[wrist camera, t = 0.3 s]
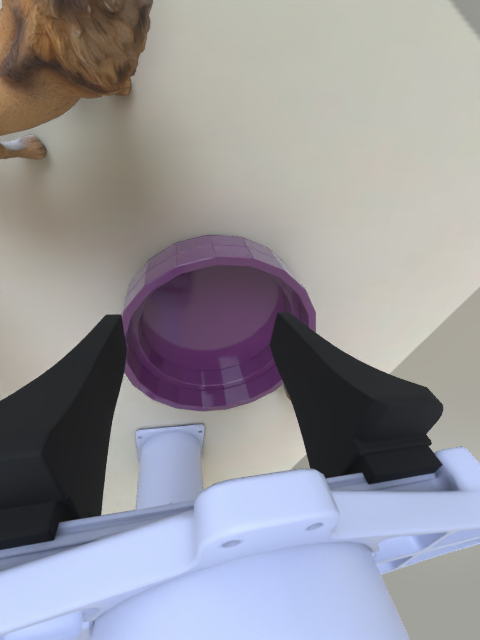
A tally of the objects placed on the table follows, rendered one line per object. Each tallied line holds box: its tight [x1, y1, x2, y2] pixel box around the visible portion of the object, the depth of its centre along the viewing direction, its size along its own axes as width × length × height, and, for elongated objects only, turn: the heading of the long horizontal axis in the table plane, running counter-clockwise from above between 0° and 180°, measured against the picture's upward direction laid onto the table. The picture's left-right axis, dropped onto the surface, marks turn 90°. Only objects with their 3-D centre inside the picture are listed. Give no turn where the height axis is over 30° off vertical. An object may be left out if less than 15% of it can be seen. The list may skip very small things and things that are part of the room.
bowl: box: [121, 235, 316, 411], centre depth 23 cm, size 15×15×4 cm
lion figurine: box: [0, 0, 153, 159], centre depth 11 cm, size 15×5×9 cm, turn 125°
